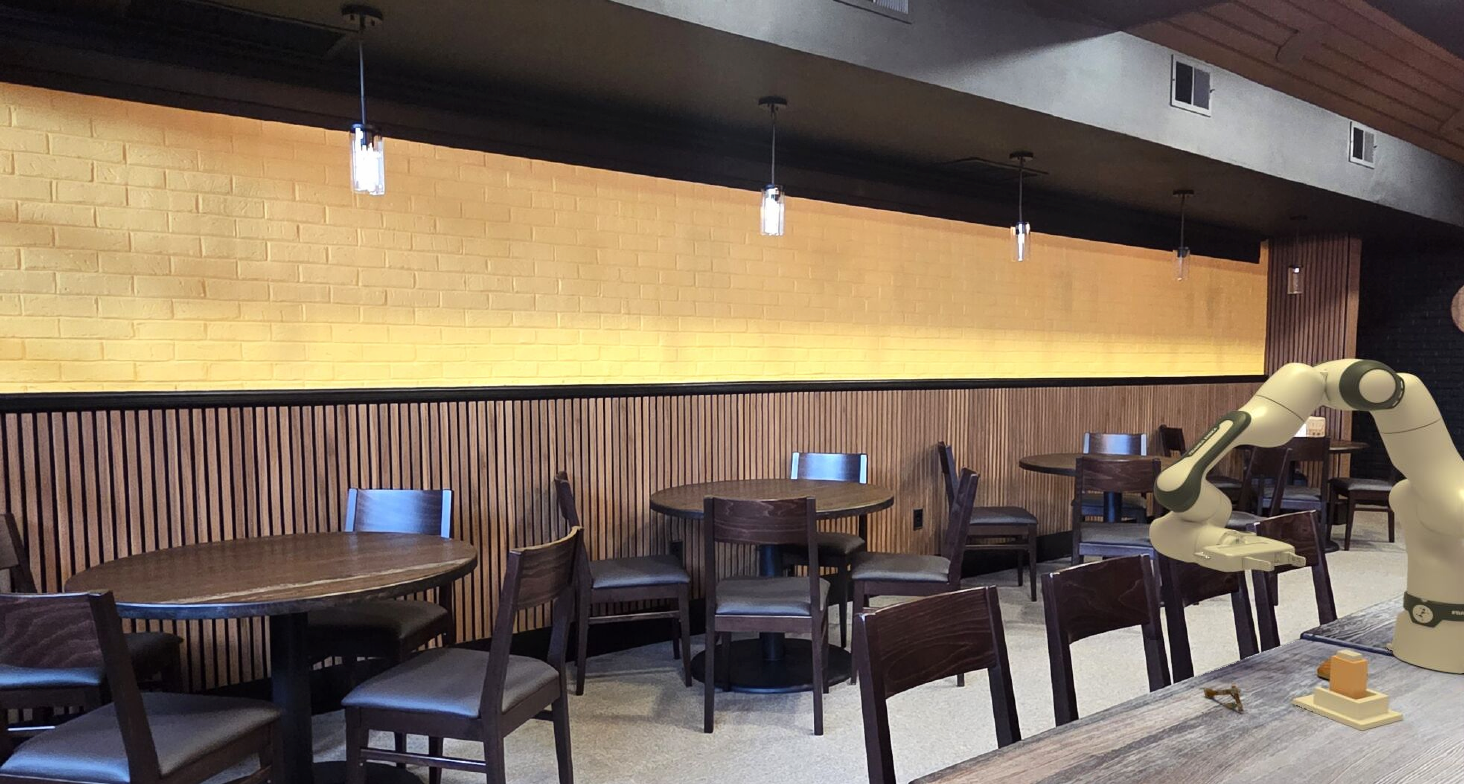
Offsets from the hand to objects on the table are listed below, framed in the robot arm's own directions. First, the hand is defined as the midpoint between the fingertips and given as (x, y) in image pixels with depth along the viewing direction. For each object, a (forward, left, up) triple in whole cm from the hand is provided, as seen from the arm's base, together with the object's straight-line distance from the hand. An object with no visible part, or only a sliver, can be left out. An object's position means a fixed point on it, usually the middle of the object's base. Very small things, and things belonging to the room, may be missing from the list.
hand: (1287, 564), depth 168 cm
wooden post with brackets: (+18, +1, -25) cm, 31 cm away
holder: (0, +12, -25) cm, 27 cm away
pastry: (-18, +1, -25) cm, 31 cm away
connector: (0, +12, -24) cm, 26 cm away
